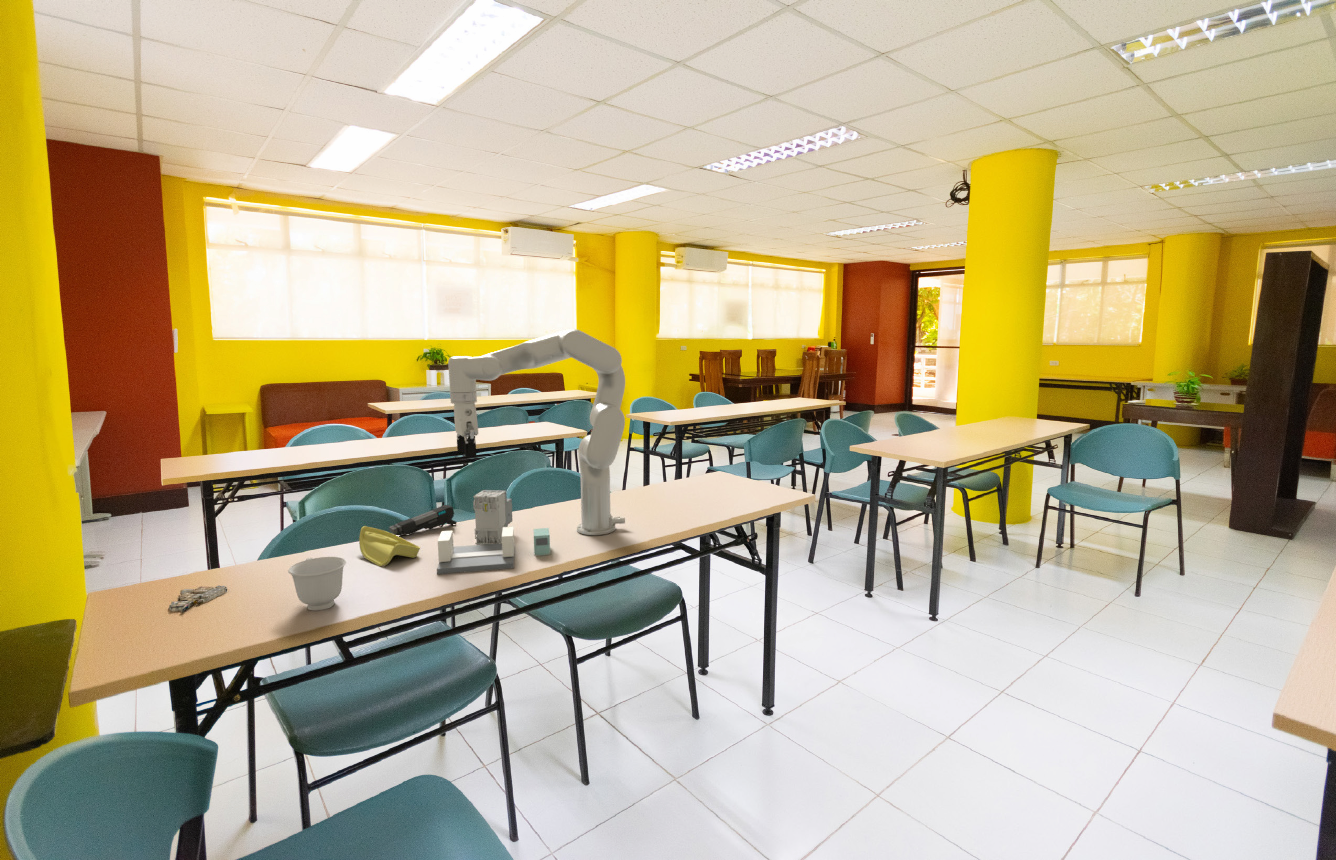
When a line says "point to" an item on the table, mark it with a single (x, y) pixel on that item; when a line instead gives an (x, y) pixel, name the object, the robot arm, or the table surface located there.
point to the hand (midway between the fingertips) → (466, 453)
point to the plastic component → (384, 546)
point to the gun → (425, 521)
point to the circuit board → (196, 597)
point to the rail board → (475, 554)
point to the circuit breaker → (491, 515)
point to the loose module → (541, 541)
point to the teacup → (318, 581)
